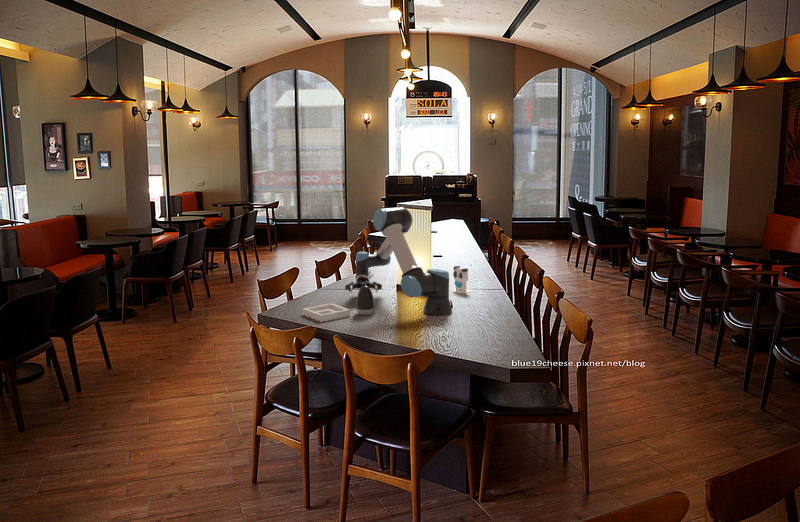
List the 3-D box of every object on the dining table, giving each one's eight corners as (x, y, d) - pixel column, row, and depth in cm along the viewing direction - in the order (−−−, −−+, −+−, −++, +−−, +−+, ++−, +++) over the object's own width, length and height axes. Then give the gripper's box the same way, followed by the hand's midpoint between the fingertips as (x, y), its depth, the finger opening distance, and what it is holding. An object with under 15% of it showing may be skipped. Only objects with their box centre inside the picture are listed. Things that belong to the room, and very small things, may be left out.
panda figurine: (447, 290, 390) (448, 266, 387) (463, 288, 395) (464, 264, 392) (457, 294, 379) (457, 269, 377) (473, 292, 384) (474, 268, 381)
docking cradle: (350, 316, 329) (350, 309, 329) (321, 322, 318) (320, 315, 318) (331, 309, 343) (331, 303, 343) (302, 315, 332) (302, 308, 331)
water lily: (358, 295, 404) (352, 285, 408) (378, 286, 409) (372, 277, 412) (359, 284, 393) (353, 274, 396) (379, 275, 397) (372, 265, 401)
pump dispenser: (375, 311, 340) (374, 283, 337) (374, 316, 329) (374, 287, 327) (356, 311, 339) (355, 283, 337) (355, 316, 329) (355, 288, 326)
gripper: (384, 287, 365) (387, 296, 344) (341, 288, 363) (341, 297, 342) (384, 275, 364) (387, 283, 343) (341, 275, 361) (341, 284, 340)
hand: (364, 290), depth 342 cm, fingers open, 13 cm apart
